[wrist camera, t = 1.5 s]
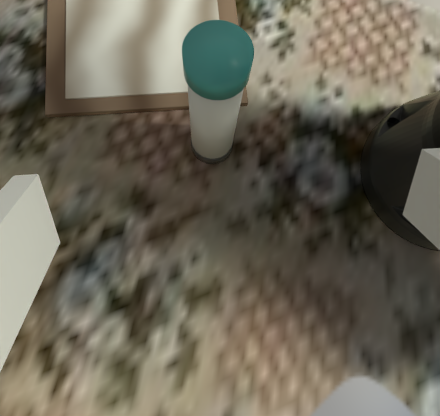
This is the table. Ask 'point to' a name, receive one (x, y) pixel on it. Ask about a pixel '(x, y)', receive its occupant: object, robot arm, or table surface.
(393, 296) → the table surface
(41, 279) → the robot arm
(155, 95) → the writing pad
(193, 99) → the marker
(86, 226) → the table surface
